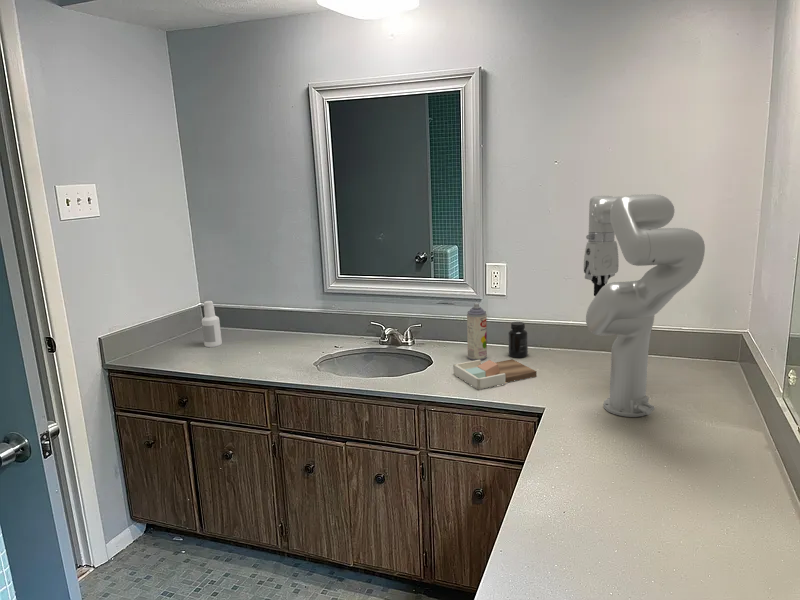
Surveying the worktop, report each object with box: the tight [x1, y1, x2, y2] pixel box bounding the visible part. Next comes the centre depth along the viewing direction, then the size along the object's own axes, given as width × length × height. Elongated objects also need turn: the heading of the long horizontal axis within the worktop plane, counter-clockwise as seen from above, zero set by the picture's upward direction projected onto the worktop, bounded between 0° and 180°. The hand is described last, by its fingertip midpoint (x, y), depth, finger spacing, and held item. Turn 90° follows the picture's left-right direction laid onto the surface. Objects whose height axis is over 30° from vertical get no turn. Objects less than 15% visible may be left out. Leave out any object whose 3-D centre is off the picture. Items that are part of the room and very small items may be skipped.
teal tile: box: [465, 367, 486, 378], centre depth 198 cm, size 5×5×3 cm
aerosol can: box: [466, 302, 488, 361], centre depth 218 cm, size 7×7×20 cm
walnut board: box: [494, 358, 537, 383], centre depth 204 cm, size 14×12×2 cm
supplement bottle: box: [507, 321, 529, 359], centre depth 220 cm, size 7×7×12 cm
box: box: [452, 360, 506, 391], centre depth 199 cm, size 16×10×4 cm, turn 23°
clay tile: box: [477, 359, 500, 377], centre depth 200 cm, size 5×5×3 cm
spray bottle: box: [201, 300, 223, 348], centre depth 247 cm, size 7×7×18 cm
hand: (599, 296), depth 189 cm, fingers closed
